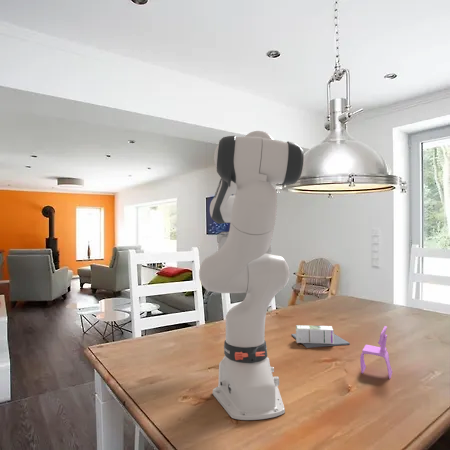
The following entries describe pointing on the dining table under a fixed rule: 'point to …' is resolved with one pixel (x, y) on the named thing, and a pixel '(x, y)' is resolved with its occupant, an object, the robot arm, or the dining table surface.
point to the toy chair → (377, 352)
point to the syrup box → (314, 334)
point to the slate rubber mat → (336, 342)
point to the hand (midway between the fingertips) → (244, 268)
